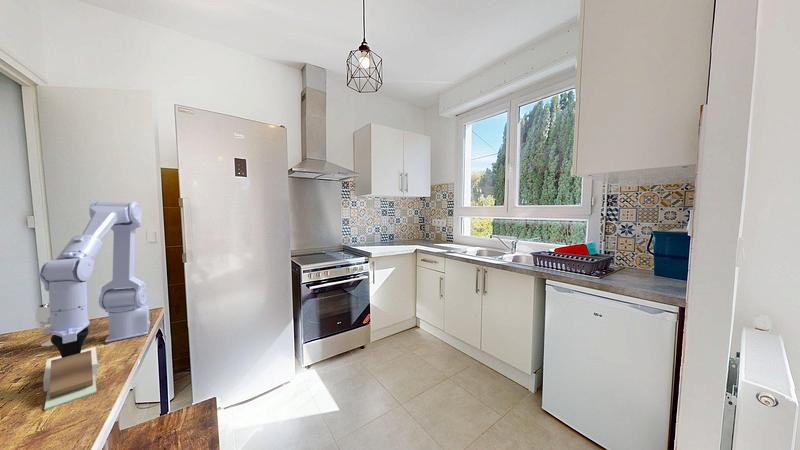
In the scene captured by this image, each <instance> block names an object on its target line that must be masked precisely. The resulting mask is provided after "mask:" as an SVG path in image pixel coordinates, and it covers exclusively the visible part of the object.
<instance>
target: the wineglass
mask: <svg viewBox="0 0 800 450" xmlns="http://www.w3.org/2000/svg"><path fill="white" fill-rule="evenodd" d="M35 321H36V323H37V324H38V325H40V326H44V327H45V326H46V327H47V326H49V327H50V308H49V302H48V303H47V302H46V303H43V304H41V305H39V306H38V308H37V310H36V314H35ZM53 335H54V334H51V337H52V336H53ZM40 346H41V347H51V346H55V345H54V344H52V342H51V339H50V340H49V341H46V342H43V343H41V344H40Z"/></svg>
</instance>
